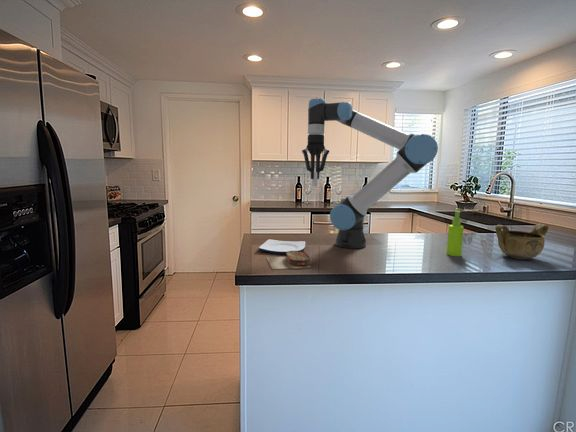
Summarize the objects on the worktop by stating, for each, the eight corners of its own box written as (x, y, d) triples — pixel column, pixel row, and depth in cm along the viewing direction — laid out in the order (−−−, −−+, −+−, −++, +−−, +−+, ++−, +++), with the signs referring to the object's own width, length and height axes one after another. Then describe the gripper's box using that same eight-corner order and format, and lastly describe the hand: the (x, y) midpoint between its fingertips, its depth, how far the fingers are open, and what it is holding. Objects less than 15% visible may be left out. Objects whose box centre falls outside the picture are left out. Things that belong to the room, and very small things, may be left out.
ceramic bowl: (527, 252, 157) (530, 221, 155) (559, 263, 140) (564, 227, 138) (482, 253, 155) (485, 221, 153) (509, 263, 138) (513, 227, 136)
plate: (300, 257, 145) (301, 251, 144) (255, 254, 149) (255, 248, 148) (307, 246, 165) (307, 241, 164) (267, 243, 168) (267, 238, 168)
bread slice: (312, 260, 129) (291, 259, 127) (311, 267, 129) (290, 267, 128) (304, 250, 144) (284, 249, 142) (303, 257, 144) (284, 256, 142)
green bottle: (460, 253, 154) (464, 210, 151) (461, 256, 148) (465, 212, 145) (446, 251, 156) (450, 209, 153) (446, 255, 150) (450, 211, 147)
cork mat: (300, 256, 144) (300, 256, 144) (310, 267, 129) (310, 267, 129) (266, 258, 141) (266, 257, 141) (272, 269, 125) (272, 268, 125)
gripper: (304, 133, 148) (303, 186, 151) (332, 134, 150) (330, 186, 154) (300, 134, 155) (299, 185, 159) (326, 135, 158) (325, 185, 161)
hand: (314, 186), depth 156 cm, fingers closed
